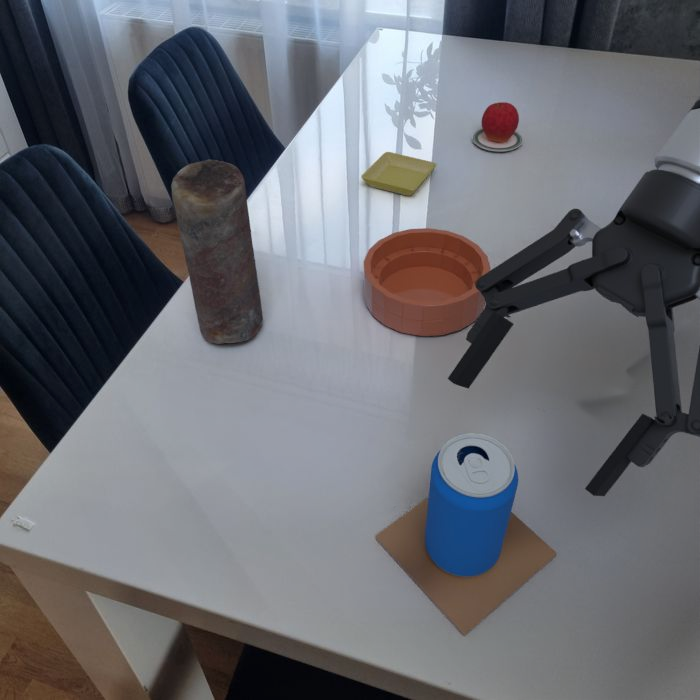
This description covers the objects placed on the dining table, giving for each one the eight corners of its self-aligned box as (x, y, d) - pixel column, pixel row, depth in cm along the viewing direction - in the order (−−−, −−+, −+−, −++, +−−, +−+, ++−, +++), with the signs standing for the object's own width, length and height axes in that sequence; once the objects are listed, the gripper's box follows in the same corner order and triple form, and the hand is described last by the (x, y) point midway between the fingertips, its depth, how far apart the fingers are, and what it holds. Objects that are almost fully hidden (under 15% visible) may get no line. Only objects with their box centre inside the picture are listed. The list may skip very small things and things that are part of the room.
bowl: (510, 302, 82) (516, 269, 78) (420, 357, 76) (422, 323, 72) (427, 246, 90) (429, 214, 87) (340, 292, 84) (338, 259, 81)
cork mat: (556, 556, 58) (557, 553, 58) (464, 637, 54) (464, 633, 53) (464, 473, 65) (465, 469, 64) (375, 539, 60) (375, 535, 60)
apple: (464, 147, 109) (468, 108, 104) (481, 126, 114) (486, 87, 109) (513, 158, 106) (519, 118, 101) (528, 135, 111) (535, 96, 106)
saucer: (385, 162, 106) (386, 150, 105) (437, 175, 103) (438, 162, 102) (360, 189, 101) (359, 176, 99) (413, 203, 98) (414, 190, 96)
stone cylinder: (269, 308, 82) (247, 158, 68) (262, 351, 77) (236, 198, 63) (207, 308, 83) (172, 158, 69) (195, 351, 77) (155, 198, 63)
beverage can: (486, 507, 61) (503, 422, 53) (510, 573, 57) (534, 492, 48) (416, 519, 61) (422, 436, 52) (435, 587, 56) (445, 508, 48)
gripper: (883, 293, 44) (676, 546, 48) (571, 150, 58) (432, 354, 62) (890, 259, 38) (653, 552, 42) (540, 109, 52) (388, 338, 56)
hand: (520, 434), depth 52 cm, fingers open, 13 cm apart
